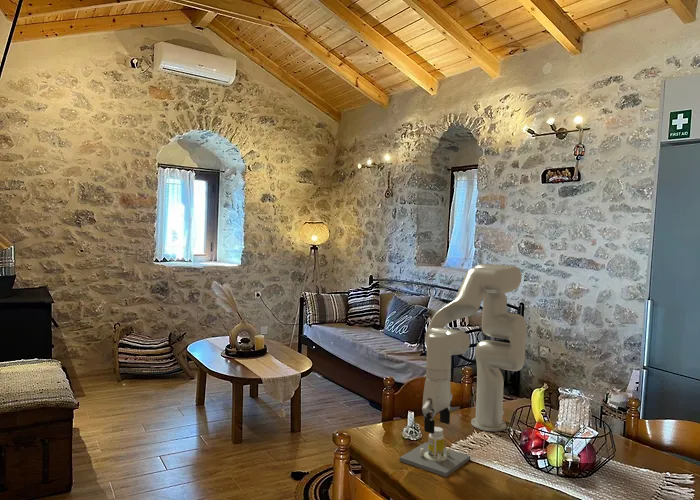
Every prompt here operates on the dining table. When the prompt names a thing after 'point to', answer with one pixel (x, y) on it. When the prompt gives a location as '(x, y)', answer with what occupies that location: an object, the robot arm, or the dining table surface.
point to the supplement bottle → (436, 443)
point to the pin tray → (435, 460)
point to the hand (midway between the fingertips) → (437, 427)
